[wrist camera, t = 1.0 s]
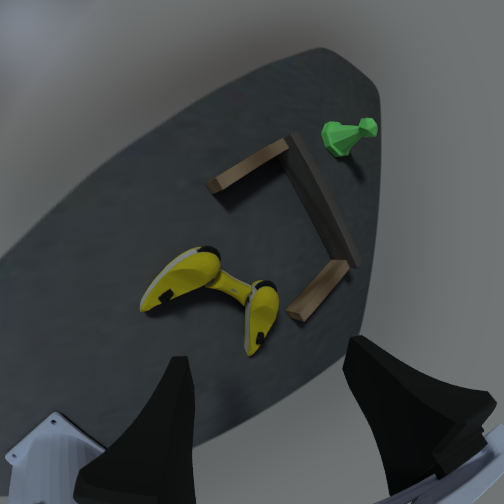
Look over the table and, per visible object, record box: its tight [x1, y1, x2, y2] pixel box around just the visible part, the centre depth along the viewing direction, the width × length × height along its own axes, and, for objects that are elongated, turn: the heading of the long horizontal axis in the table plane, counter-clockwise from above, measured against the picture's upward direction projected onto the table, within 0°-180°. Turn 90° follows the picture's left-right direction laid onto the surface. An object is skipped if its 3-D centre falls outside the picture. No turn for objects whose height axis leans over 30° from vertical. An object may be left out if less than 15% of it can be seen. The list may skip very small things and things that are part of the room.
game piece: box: [321, 118, 378, 157], centre depth 26 cm, size 4×4×6 cm
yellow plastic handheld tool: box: [140, 246, 279, 356], centre depth 20 cm, size 10×6×4 cm, turn 62°
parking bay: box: [206, 131, 362, 322], centre depth 23 cm, size 8×14×3 cm, turn 36°
